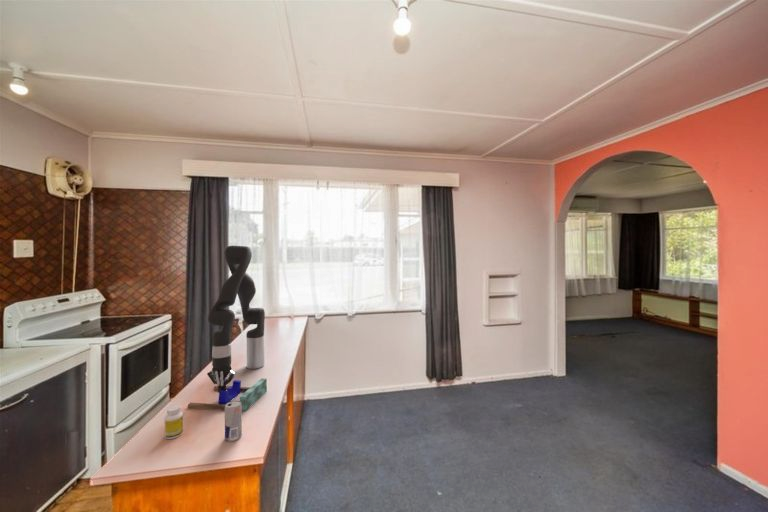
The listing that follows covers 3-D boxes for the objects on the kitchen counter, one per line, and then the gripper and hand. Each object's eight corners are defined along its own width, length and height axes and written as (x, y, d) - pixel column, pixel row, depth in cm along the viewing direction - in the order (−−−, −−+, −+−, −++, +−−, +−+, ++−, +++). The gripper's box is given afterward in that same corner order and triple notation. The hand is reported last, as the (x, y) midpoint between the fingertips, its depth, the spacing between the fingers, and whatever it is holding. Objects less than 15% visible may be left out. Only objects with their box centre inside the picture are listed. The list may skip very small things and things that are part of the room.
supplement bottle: (184, 434, 110) (184, 407, 109) (166, 441, 106) (166, 413, 105) (180, 428, 113) (180, 402, 113) (162, 435, 109) (162, 408, 109)
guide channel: (215, 388, 146) (215, 376, 146) (266, 391, 143) (266, 378, 143) (187, 407, 128) (187, 393, 128) (245, 411, 126) (245, 396, 125)
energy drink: (228, 433, 111) (228, 400, 110) (244, 432, 111) (243, 399, 111) (222, 442, 105) (221, 408, 105) (238, 441, 106) (238, 407, 105)
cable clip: (230, 392, 142) (231, 379, 142) (239, 393, 142) (241, 380, 141) (214, 405, 130) (215, 391, 130) (224, 406, 130) (226, 392, 129)
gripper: (240, 352, 139) (240, 390, 139) (213, 351, 140) (213, 388, 140) (230, 358, 131) (230, 398, 132) (202, 356, 133) (202, 396, 133)
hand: (221, 393), depth 136 cm, fingers closed
